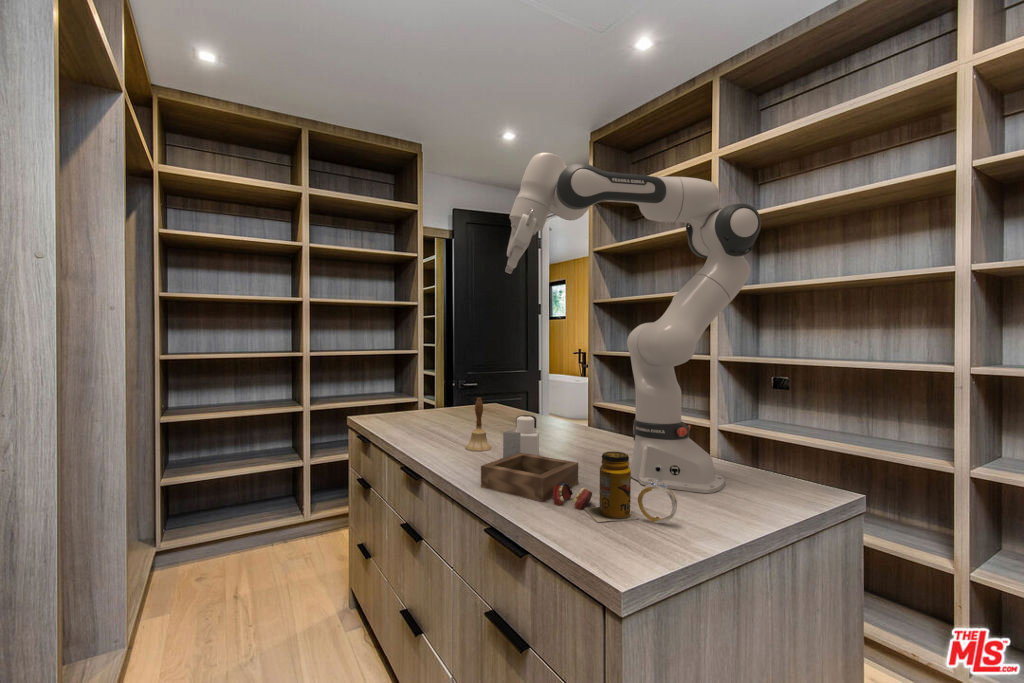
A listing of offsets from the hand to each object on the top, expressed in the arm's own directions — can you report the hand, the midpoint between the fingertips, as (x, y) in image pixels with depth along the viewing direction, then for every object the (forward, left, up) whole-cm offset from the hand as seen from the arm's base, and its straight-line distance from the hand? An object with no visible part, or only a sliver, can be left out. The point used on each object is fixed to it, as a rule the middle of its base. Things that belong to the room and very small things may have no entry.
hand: (509, 270), depth 118 cm
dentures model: (-21, +6, -52) cm, 56 cm away
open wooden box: (-7, +1, -52) cm, 52 cm away
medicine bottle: (+9, -21, -52) cm, 57 cm away
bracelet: (-39, +6, -52) cm, 65 cm away
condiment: (-30, +7, -52) cm, 60 cm away
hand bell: (+27, -21, -52) cm, 62 cm away
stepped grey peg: (+7, -11, -52) cm, 53 cm away
